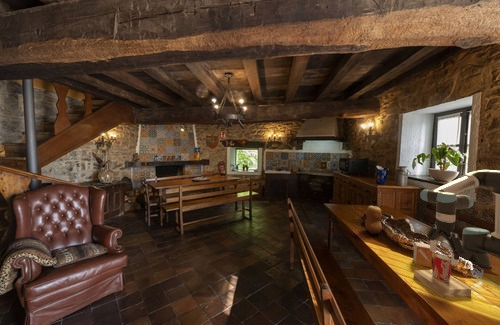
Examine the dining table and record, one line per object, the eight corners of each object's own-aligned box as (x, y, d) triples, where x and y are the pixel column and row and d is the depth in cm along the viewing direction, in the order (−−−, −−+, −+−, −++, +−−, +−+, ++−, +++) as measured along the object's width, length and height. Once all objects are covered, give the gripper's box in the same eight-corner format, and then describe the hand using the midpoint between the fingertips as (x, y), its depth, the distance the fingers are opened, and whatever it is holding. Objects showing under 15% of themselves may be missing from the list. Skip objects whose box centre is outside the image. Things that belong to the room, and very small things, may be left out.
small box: (415, 264, 127) (416, 245, 126) (413, 259, 133) (414, 241, 132) (431, 268, 123) (432, 248, 122) (428, 263, 129) (429, 244, 128)
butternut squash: (385, 236, 169) (386, 208, 168) (369, 236, 170) (371, 208, 168) (375, 229, 183) (376, 204, 182) (361, 229, 184) (362, 204, 182)
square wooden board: (439, 276, 115) (439, 269, 115) (470, 296, 99) (471, 288, 99) (414, 276, 115) (414, 270, 114) (442, 297, 99) (442, 289, 98)
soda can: (431, 273, 112) (432, 251, 111) (448, 278, 107) (450, 256, 106) (432, 279, 106) (434, 257, 106) (451, 285, 102) (453, 261, 101)
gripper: (420, 212, 117) (418, 245, 119) (459, 229, 93) (456, 270, 94) (433, 213, 117) (431, 246, 118) (476, 230, 92) (473, 271, 93)
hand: (442, 257), depth 106 cm, fingers open, 13 cm apart
